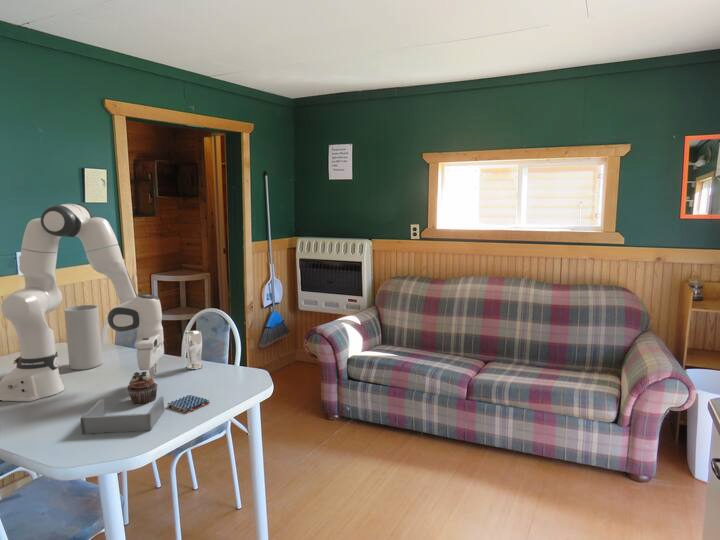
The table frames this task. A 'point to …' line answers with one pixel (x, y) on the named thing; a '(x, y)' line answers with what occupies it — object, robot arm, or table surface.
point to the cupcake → (142, 388)
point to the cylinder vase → (83, 337)
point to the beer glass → (193, 349)
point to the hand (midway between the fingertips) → (153, 374)
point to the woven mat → (188, 403)
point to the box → (120, 419)
